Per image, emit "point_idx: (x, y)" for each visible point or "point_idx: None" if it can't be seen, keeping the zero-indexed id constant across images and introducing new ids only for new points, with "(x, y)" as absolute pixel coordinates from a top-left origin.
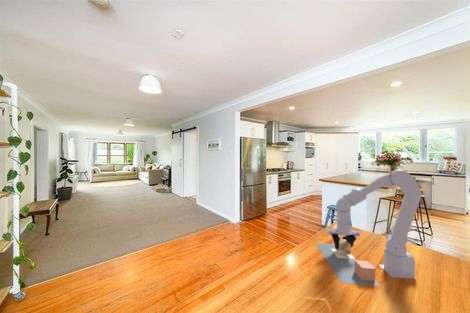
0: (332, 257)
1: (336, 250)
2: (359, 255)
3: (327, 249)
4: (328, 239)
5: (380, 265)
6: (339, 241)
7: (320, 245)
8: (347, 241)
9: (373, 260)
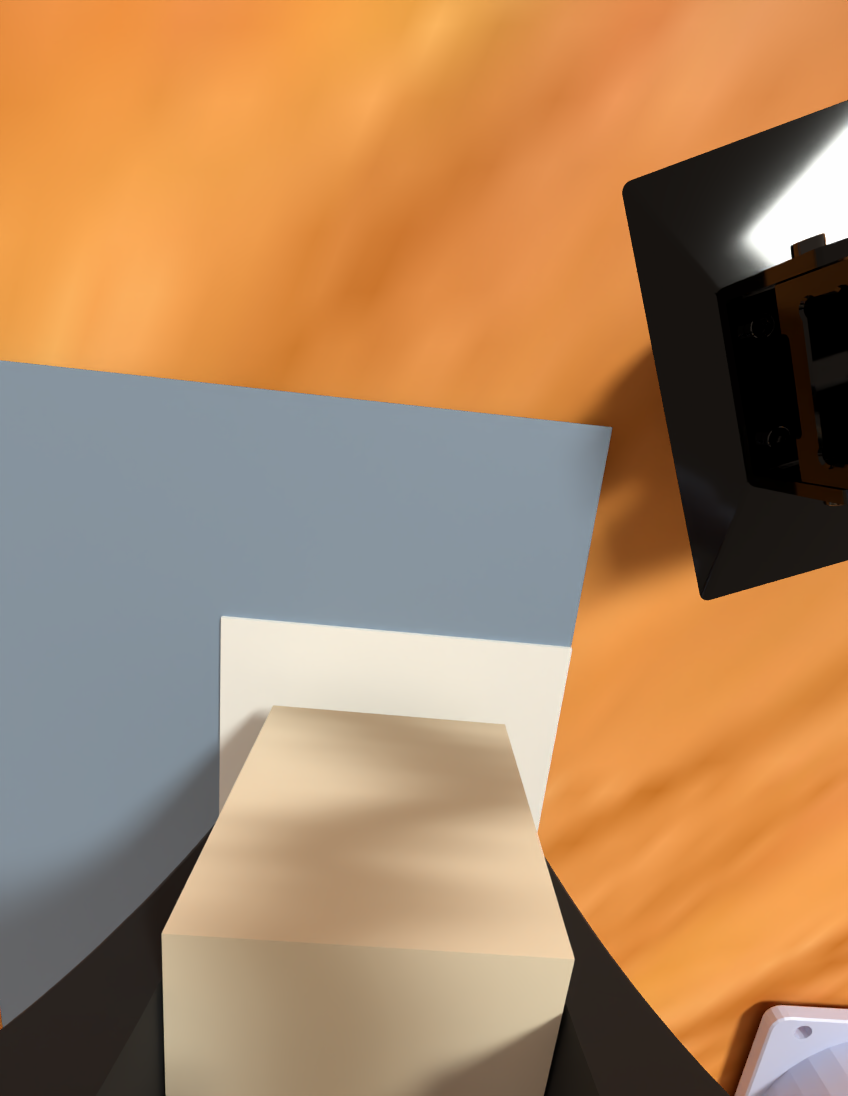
0: (127, 891)
1: (318, 688)
2: (699, 771)
3: (136, 647)
4: (433, 45)
5: (785, 1038)
6: (239, 1089)
7: (26, 475)
8: (544, 1076)
9: (815, 890)
